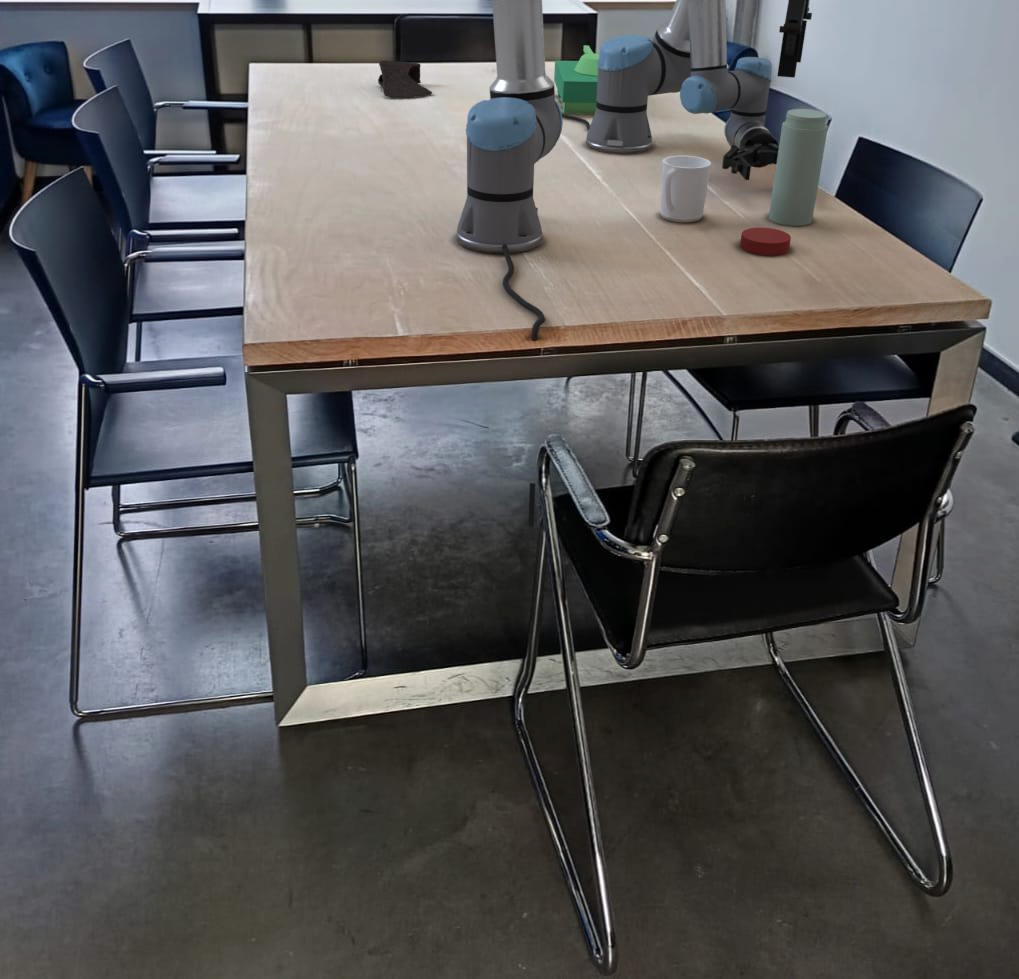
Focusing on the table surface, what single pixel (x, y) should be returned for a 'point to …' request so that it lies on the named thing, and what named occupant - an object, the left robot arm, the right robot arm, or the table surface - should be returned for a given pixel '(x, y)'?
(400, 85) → the axe head
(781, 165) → the jar
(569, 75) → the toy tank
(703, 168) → the mug
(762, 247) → the lid
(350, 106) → the table surface
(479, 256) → the table surface
